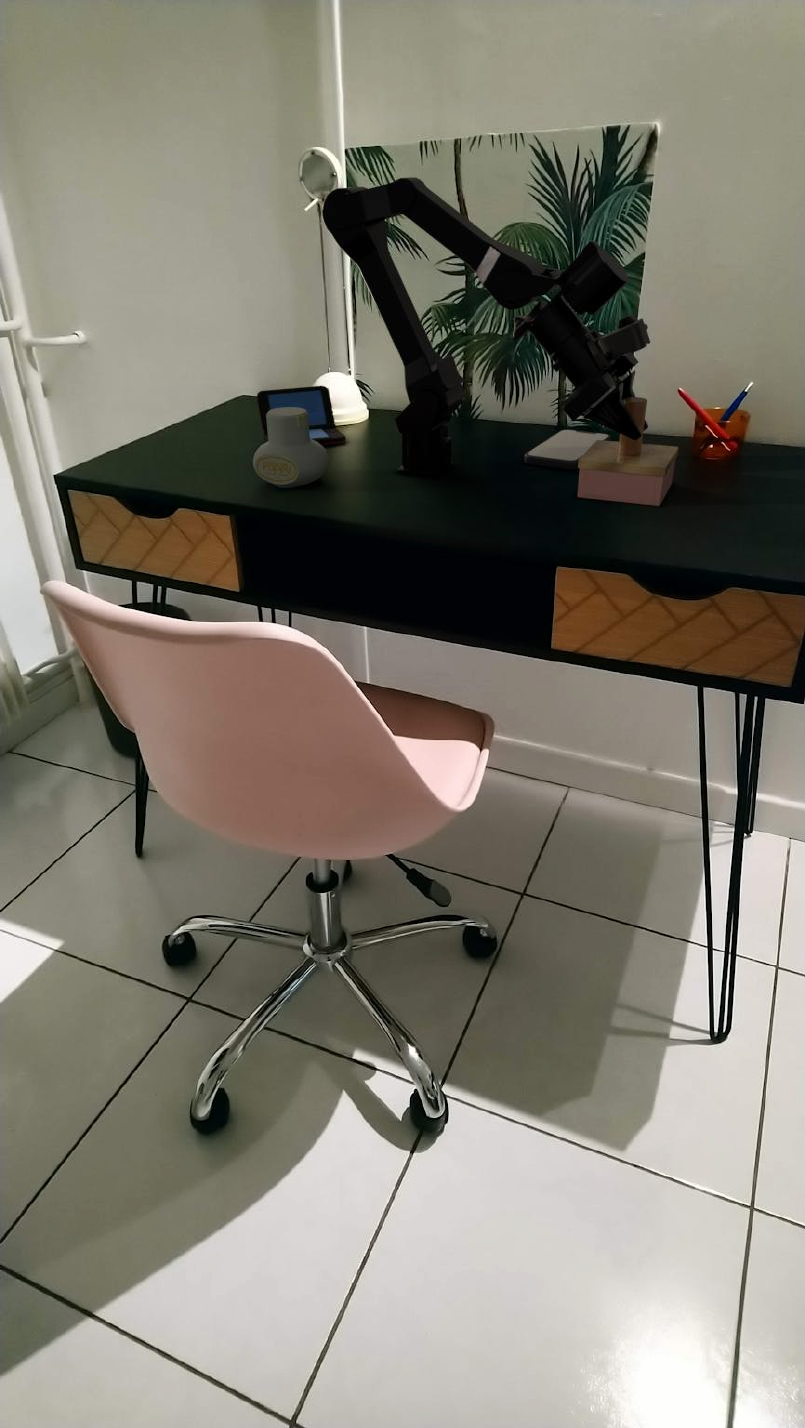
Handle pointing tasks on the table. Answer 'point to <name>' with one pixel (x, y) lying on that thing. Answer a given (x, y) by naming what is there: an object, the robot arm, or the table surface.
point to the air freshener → (290, 450)
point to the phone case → (563, 449)
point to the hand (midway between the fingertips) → (642, 433)
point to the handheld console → (312, 402)
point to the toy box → (624, 486)
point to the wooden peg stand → (630, 450)
